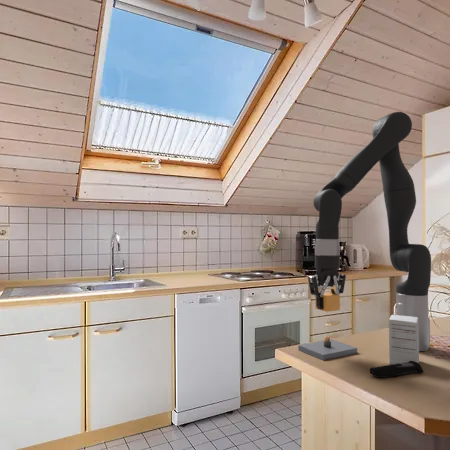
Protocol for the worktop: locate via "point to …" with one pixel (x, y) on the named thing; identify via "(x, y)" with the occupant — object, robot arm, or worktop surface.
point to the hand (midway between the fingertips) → (327, 308)
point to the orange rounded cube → (330, 302)
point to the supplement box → (403, 339)
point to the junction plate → (327, 349)
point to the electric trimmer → (396, 369)
